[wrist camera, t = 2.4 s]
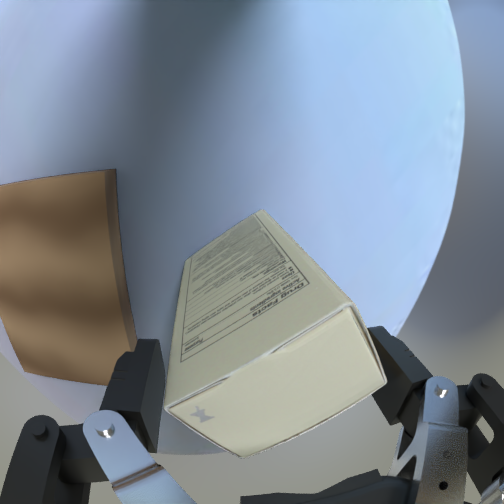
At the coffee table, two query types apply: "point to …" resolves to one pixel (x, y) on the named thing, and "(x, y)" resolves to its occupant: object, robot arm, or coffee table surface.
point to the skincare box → (264, 342)
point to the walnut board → (64, 276)
